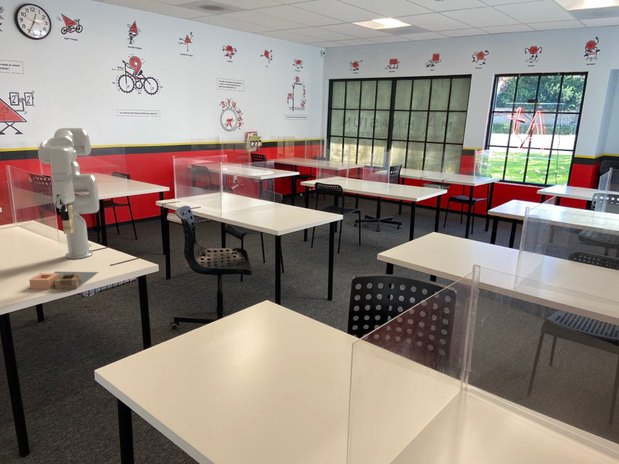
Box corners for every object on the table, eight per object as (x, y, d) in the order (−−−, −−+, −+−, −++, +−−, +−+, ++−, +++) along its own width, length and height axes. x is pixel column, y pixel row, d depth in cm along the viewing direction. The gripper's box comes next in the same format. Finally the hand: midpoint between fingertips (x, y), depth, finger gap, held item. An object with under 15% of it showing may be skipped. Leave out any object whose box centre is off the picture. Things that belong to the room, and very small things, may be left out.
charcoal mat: (55, 272, 208) (55, 271, 208) (98, 273, 208) (98, 272, 208) (28, 289, 188) (28, 288, 188) (76, 290, 188) (75, 289, 188)
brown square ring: (61, 283, 194) (59, 274, 193) (81, 281, 196) (80, 273, 195) (56, 290, 187) (54, 281, 186) (77, 288, 189) (75, 279, 188)
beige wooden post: (67, 231, 197) (63, 200, 194) (75, 232, 197) (71, 200, 194) (63, 233, 194) (59, 202, 190) (71, 233, 194) (67, 202, 191)
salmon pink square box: (41, 281, 196) (40, 273, 195) (60, 282, 196) (58, 273, 195) (30, 288, 188) (29, 279, 187) (49, 289, 188) (48, 280, 187)
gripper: (63, 174, 197) (68, 215, 202) (42, 179, 181) (48, 223, 186) (80, 174, 197) (85, 215, 202) (61, 179, 182) (67, 223, 186)
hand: (67, 219), depth 194 cm, fingers closed on beige wooden post, 3 cm apart
